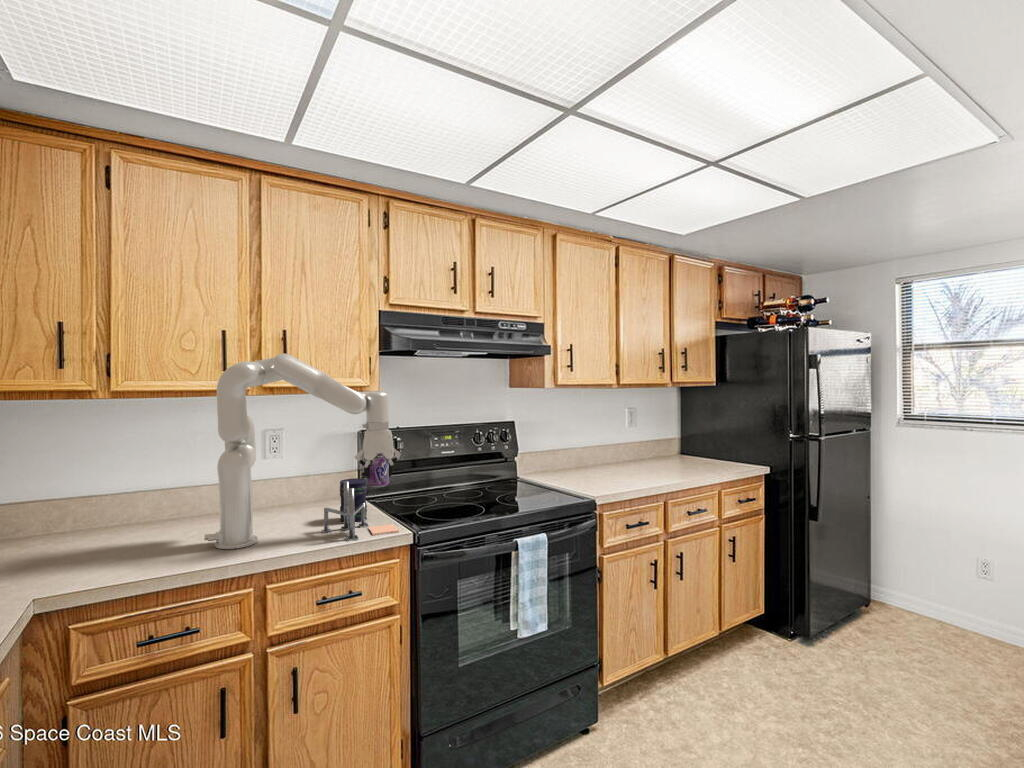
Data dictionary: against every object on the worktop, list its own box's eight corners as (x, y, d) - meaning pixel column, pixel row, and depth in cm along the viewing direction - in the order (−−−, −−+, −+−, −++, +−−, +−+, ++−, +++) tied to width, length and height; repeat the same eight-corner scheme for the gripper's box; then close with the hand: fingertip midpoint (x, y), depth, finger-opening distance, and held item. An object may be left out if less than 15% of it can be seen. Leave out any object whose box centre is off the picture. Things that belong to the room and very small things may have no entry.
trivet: (372, 535, 183) (372, 533, 183) (368, 528, 191) (368, 527, 191) (398, 532, 186) (398, 530, 186) (393, 525, 194) (393, 523, 194)
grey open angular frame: (325, 544, 174) (325, 492, 173) (321, 530, 189) (320, 482, 189) (375, 537, 180) (375, 487, 180) (367, 524, 196) (366, 478, 196)
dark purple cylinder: (351, 524, 196) (351, 484, 196) (334, 521, 201) (333, 481, 201) (372, 518, 204) (372, 480, 204) (355, 515, 210) (355, 477, 209)
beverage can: (370, 488, 183) (369, 454, 183) (367, 485, 190) (366, 451, 189) (390, 486, 186) (390, 452, 186) (387, 483, 193) (386, 450, 192)
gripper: (353, 429, 180) (354, 481, 181) (404, 426, 188) (405, 476, 188) (350, 427, 187) (351, 477, 188) (399, 424, 195) (400, 473, 195)
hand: (378, 476), depth 188 cm, fingers closed on beverage can, 6 cm apart
